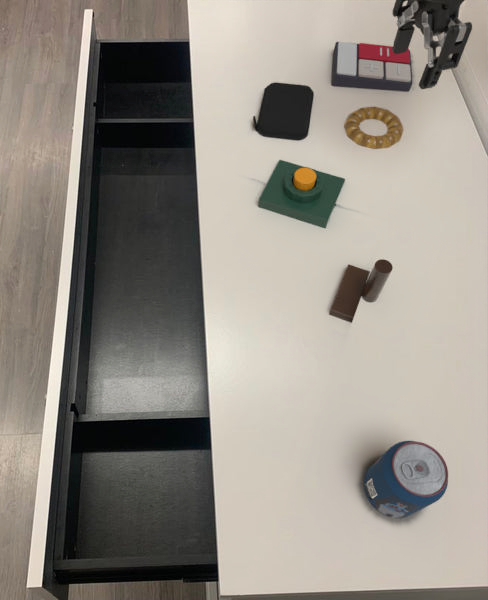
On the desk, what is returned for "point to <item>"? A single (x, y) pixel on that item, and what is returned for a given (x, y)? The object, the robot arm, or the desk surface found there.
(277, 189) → the green push button box
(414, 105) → the desk surface
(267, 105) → the carrying case
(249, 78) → the desk surface
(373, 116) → the ring
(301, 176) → the button
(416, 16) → the robot arm
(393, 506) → the soda can
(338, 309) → the stand
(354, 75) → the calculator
